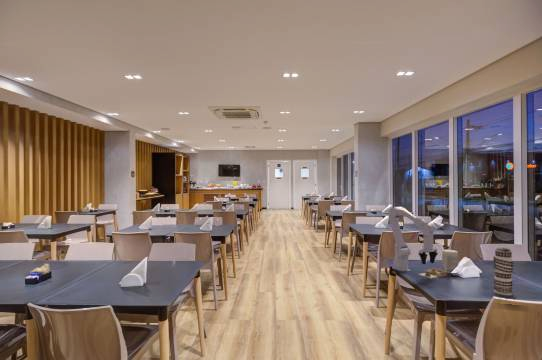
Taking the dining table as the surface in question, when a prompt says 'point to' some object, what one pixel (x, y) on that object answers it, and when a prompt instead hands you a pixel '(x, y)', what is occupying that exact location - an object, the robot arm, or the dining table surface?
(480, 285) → the dining table surface
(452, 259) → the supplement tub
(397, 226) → the robot arm
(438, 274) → the box
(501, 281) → the decorative candle
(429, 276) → the lid
